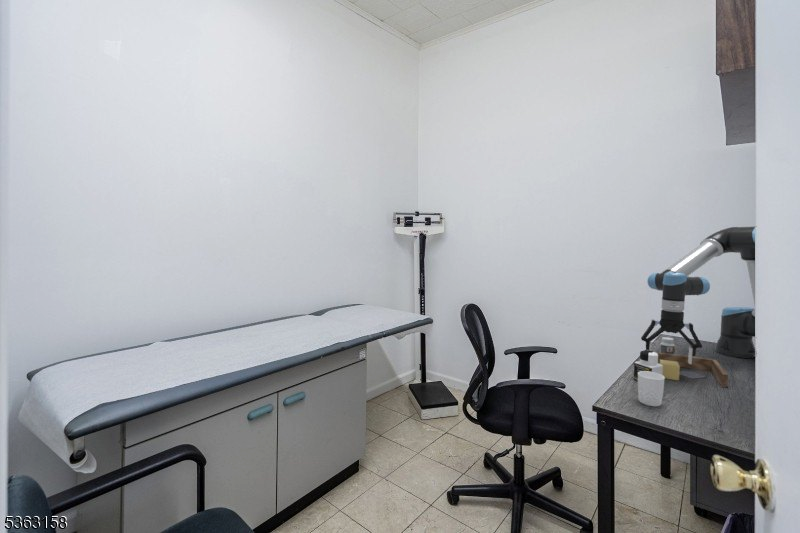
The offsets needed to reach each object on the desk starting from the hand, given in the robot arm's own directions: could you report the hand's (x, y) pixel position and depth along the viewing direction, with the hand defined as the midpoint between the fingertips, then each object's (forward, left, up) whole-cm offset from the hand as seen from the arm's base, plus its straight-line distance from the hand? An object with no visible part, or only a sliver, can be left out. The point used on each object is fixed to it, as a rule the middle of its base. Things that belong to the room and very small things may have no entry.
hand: (669, 360), depth 152 cm
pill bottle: (-2, -26, -7) cm, 27 cm away
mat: (-8, -6, -7) cm, 12 cm away
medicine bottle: (+8, +9, -7) cm, 14 cm away
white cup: (+9, +32, -7) cm, 34 cm away
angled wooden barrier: (-7, -7, -7) cm, 12 cm away
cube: (0, 0, -7) cm, 7 cm away
